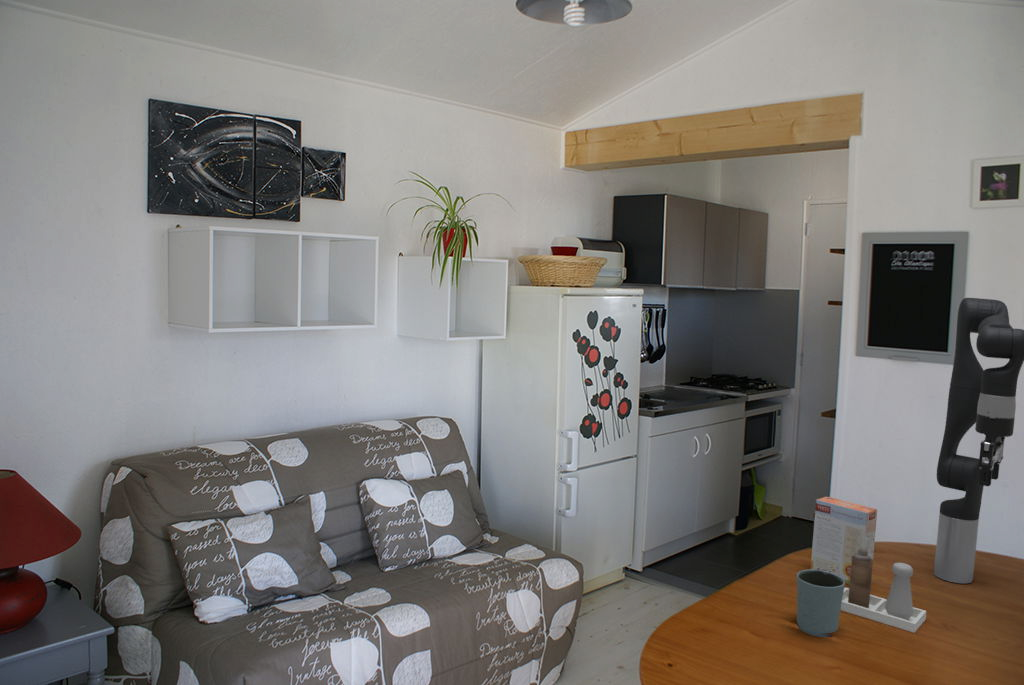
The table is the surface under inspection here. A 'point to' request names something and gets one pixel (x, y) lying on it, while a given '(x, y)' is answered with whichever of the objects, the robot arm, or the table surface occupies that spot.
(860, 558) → the pepper mill
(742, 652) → the table surface
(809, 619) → the blue-grey cup
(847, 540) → the cracker box
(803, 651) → the table surface
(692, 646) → the table surface
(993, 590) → the table surface
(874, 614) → the caddy
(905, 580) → the salt shaker
